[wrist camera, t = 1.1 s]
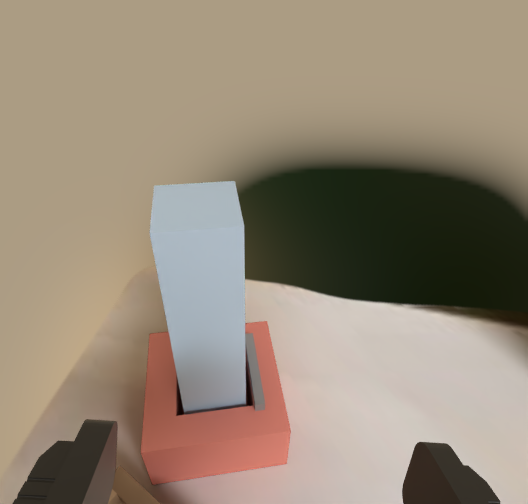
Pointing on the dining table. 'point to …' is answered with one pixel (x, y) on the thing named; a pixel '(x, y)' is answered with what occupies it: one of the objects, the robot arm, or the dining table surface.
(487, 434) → the dining table surface
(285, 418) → the pink square holder
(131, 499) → the tray
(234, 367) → the pale blue tall pillar
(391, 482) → the dining table surface
